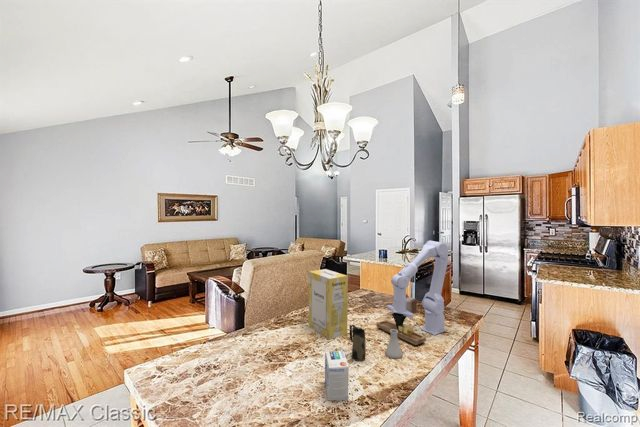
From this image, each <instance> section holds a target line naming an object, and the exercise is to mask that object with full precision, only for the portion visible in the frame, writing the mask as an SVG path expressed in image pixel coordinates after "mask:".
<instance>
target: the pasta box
mask: <svg viewBox="0 0 640 427" xmlns="http://www.w3.org/2000/svg"><path fill="white" fill-rule="evenodd" d="M348 277H349V276H348V275H346V274H343V273H339V272H337V271H333V270H330V269H327V268H324V269H317V270H309V271H308V327H310V328H312V330H315V331H316V332H317V333H319V334H320V335H322V336H324V337H325V338H327V339H328V340H332V339H335V338H338V337H341V336H344V335H347V334H348V305H349V304H348V297H349V296H348V293H349V291H348V288H349V287H348V286H349V284H348V282H349V278H348Z"/></svg>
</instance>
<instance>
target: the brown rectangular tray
mask: <svg viewBox="0 0 640 427" xmlns="http://www.w3.org/2000/svg"><path fill="white" fill-rule="evenodd" d="M375 324H376V327H377V328H378V329H381V330H383V331H385V332H387V333H390V334H391V332H390V330H391V329H395V330H397V331H398V333H397V337H398V339H402V340H404V341H406V342H408V343H410V344H412V345H415V346H417V345H420V344H422V343H425V342H427V341H426V340H427V338H426V336H423V335H421V334H419V333H417V332H414V331H413V335H412V336H409V337H408V336H406V335H404V334H402V333H399V329H397V327H396V323H394V322H392V321H389V320H387V319H384V320H381V321H379V322H376V323H375Z"/></svg>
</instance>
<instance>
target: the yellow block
mask: <svg viewBox="0 0 640 427" xmlns="http://www.w3.org/2000/svg"><path fill="white" fill-rule="evenodd" d="M413 332H414V326H413V327H412V326H411V325H409V324H406V323H403V324H402V325H399V333H402V334H404V335H406V336H408V337H409V336H412V335H413Z"/></svg>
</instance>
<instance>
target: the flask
mask: <svg viewBox="0 0 640 427" xmlns="http://www.w3.org/2000/svg"><path fill="white" fill-rule="evenodd" d="M390 332H391V333H390V336H389V340H388V344H387V347H386V349H385V351H384V354H385V356H386V357H387V358H391V359H402V358H403V354H404V353H403V351H402V349H401V345H400V341H399V338H398V337H397V333H398V331H397V330H395V329H391V330H390Z"/></svg>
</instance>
